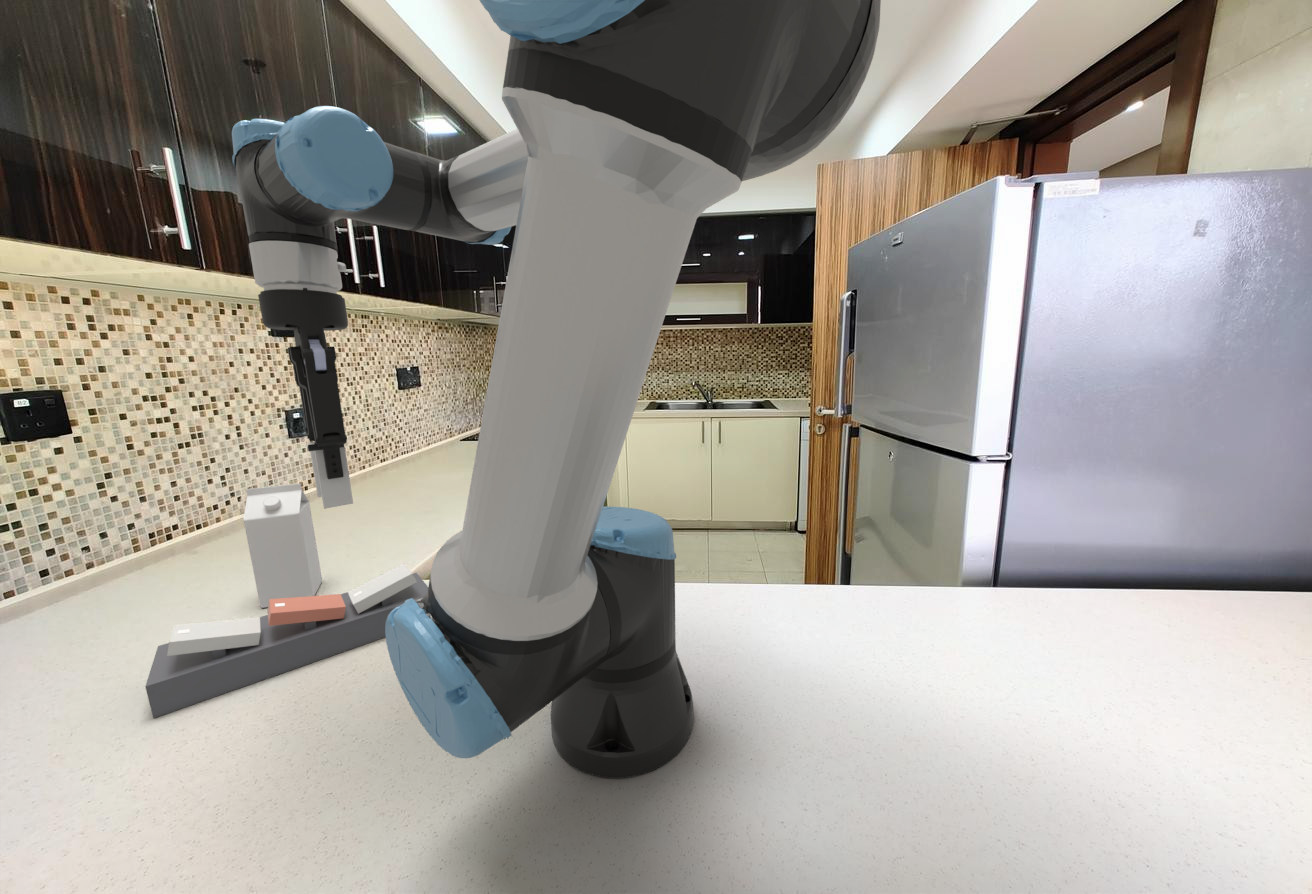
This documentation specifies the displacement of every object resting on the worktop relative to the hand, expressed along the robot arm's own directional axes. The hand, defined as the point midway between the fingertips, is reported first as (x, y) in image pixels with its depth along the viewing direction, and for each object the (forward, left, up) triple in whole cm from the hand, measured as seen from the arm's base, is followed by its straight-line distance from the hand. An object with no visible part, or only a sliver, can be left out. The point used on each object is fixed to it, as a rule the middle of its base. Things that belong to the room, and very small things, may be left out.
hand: (334, 499), depth 55 cm
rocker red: (+11, +4, -17) cm, 20 cm away
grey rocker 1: (+11, +13, -17) cm, 24 cm away
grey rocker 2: (+11, -5, -17) cm, 20 cm away
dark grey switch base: (+12, +1, -23) cm, 26 cm away
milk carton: (+32, +5, -23) cm, 40 cm away
